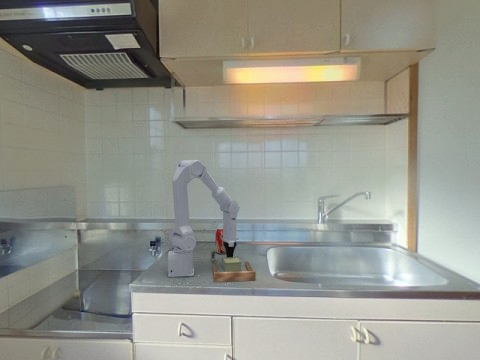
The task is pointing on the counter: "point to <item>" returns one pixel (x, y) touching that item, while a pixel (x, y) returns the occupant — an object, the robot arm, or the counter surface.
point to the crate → (231, 264)
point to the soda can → (219, 241)
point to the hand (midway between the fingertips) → (229, 259)
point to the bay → (234, 274)
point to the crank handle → (213, 256)
